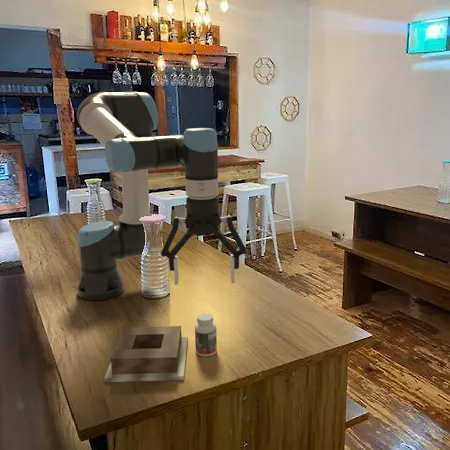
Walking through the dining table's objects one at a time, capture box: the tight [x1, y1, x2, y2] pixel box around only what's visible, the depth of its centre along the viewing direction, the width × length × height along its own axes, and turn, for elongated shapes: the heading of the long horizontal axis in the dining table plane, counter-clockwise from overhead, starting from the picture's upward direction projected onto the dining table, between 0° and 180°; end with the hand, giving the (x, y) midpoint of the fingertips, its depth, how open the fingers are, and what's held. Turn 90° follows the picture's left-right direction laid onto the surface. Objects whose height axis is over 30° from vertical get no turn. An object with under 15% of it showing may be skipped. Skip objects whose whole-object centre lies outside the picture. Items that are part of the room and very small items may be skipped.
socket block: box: [103, 325, 189, 383], centre depth 111 cm, size 18×18×5 cm
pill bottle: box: [194, 312, 218, 358], centre depth 114 cm, size 5×5×10 cm
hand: (204, 282), depth 110 cm, fingers open, 13 cm apart
